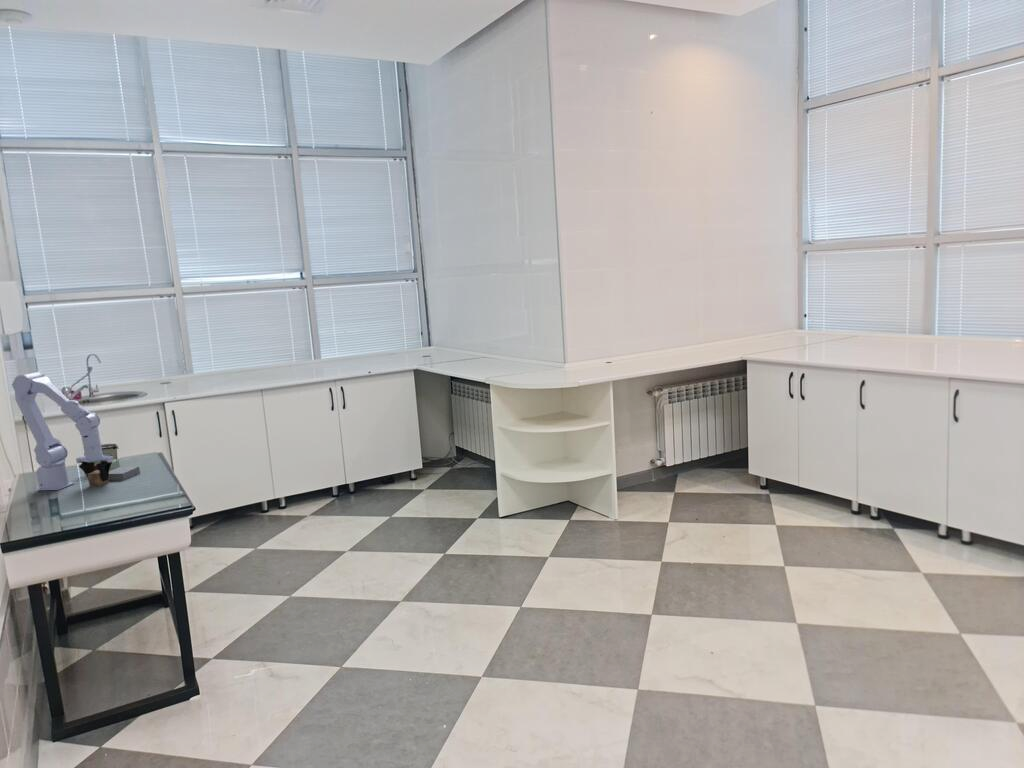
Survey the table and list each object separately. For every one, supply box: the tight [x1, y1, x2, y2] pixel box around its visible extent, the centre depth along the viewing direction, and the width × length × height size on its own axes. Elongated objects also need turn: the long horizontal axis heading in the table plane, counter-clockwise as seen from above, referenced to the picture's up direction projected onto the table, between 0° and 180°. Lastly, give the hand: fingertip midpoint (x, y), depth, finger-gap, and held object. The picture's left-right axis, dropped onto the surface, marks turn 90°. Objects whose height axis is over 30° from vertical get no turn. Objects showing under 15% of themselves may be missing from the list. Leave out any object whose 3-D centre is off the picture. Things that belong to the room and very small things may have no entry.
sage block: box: [109, 459, 121, 471], centre depth 285 cm, size 4×4×5 cm
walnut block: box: [87, 470, 110, 487], centre depth 270 cm, size 4×4×5 cm
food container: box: [83, 443, 119, 471], centre depth 291 cm, size 12×6×10 cm, turn 130°
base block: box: [108, 466, 141, 481], centre depth 279 cm, size 9×9×3 cm
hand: (98, 480), depth 270 cm, fingers open, 5 cm apart
